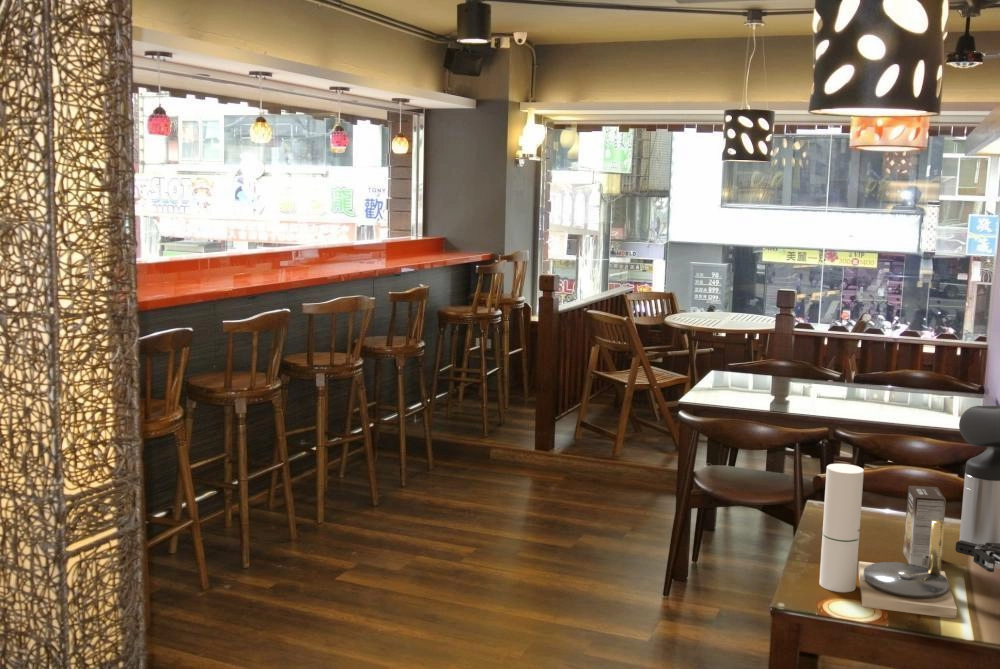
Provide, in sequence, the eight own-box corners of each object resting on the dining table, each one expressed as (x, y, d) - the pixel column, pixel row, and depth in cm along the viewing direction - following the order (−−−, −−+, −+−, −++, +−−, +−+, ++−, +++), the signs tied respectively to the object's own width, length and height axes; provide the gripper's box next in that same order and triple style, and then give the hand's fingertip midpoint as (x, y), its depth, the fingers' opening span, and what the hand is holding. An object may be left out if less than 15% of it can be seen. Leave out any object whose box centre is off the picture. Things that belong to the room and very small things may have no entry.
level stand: (858, 570, 217) (859, 559, 217) (943, 580, 212) (944, 569, 212) (862, 606, 198) (862, 595, 198) (956, 618, 193) (956, 607, 193)
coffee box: (902, 553, 228) (907, 484, 225) (932, 555, 226) (937, 486, 224) (909, 568, 219) (915, 496, 216) (941, 570, 217) (947, 499, 215)
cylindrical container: (858, 583, 210) (866, 467, 206) (851, 595, 204) (859, 475, 200) (823, 576, 213) (831, 461, 210) (815, 587, 207) (823, 469, 204)
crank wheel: (898, 602, 195) (903, 541, 193) (847, 571, 210) (850, 515, 208) (967, 593, 200) (972, 534, 198) (911, 564, 215) (915, 508, 213)
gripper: (1064, 543, 194) (972, 520, 207) (1038, 560, 185) (944, 535, 198) (1060, 580, 195) (969, 555, 208) (1034, 598, 186) (941, 571, 199)
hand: (957, 545), depth 203 cm, fingers closed
